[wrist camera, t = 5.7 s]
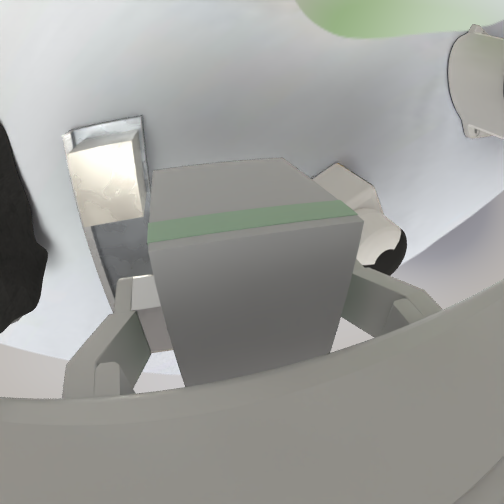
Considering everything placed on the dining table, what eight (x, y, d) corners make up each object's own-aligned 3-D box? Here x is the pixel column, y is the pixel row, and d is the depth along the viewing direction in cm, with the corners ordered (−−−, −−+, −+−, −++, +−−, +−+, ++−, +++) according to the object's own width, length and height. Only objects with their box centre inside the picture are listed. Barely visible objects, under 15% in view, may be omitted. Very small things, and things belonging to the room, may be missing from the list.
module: (283, 157, 10) (365, 220, 6) (275, 288, 14) (322, 376, 10) (152, 170, 9) (147, 250, 5) (175, 306, 12) (192, 408, 8)
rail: (141, 115, 23) (134, 126, 18) (175, 314, 36) (180, 354, 31) (69, 130, 21) (44, 146, 16) (123, 321, 35) (121, 362, 30)
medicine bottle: (357, 206, 35) (420, 262, 25) (311, 240, 36) (363, 306, 26) (336, 160, 31) (409, 208, 21) (284, 197, 31) (339, 260, 22)
